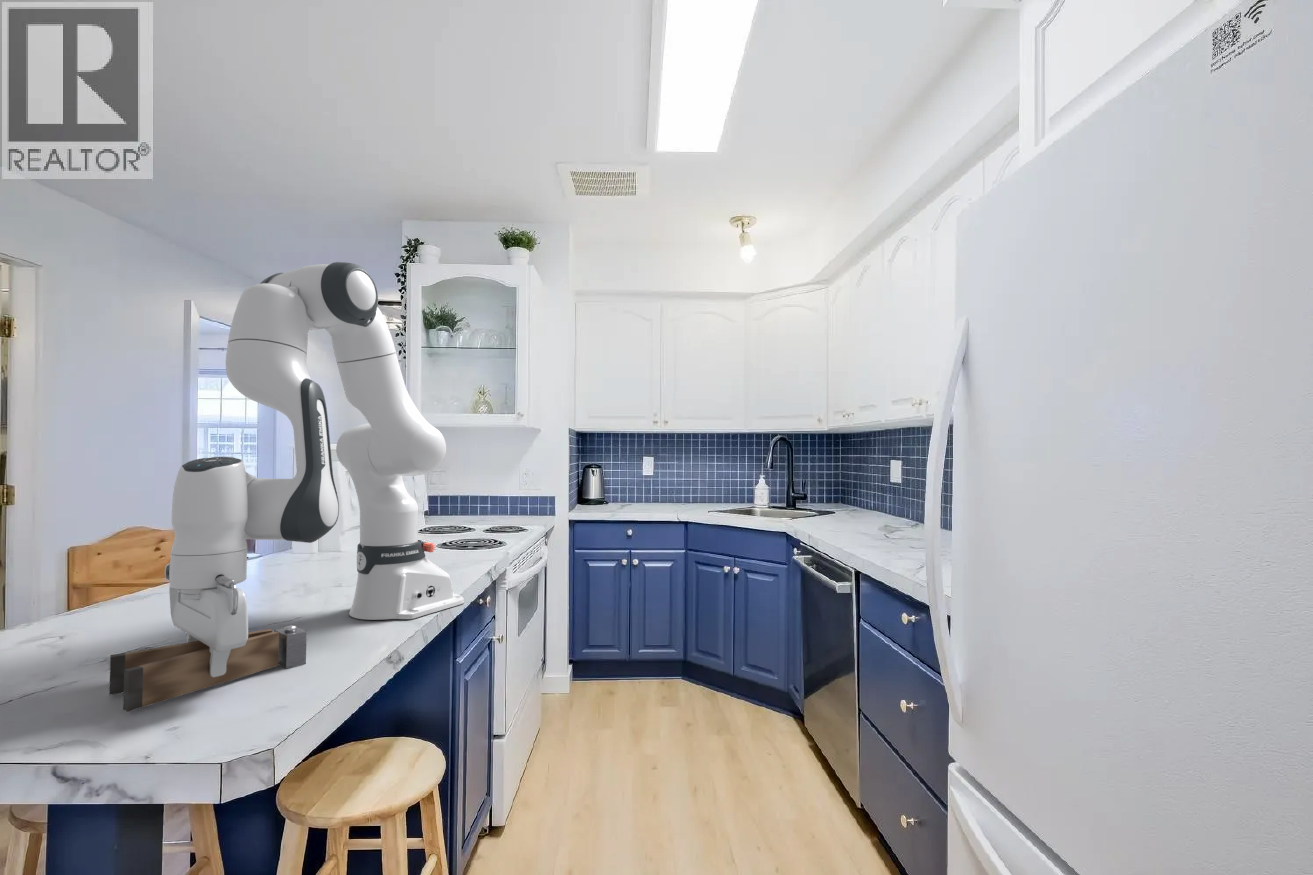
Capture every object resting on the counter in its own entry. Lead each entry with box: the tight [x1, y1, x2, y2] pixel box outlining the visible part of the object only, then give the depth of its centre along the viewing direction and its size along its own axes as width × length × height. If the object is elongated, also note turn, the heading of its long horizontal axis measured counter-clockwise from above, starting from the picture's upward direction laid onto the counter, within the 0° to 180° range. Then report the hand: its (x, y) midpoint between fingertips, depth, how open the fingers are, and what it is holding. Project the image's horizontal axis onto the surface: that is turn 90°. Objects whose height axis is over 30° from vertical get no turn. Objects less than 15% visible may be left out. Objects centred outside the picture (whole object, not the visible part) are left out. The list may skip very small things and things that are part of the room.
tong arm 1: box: [108, 628, 273, 696], centre depth 87 cm, size 18×1×5 cm, turn 132°
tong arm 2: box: [122, 631, 279, 712], centre depth 84 cm, size 18×1×5 cm, turn 152°
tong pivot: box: [273, 624, 307, 670], centre depth 95 cm, size 3×5×6 cm, turn 52°
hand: (207, 668), depth 86 cm, fingers open, 6 cm apart
